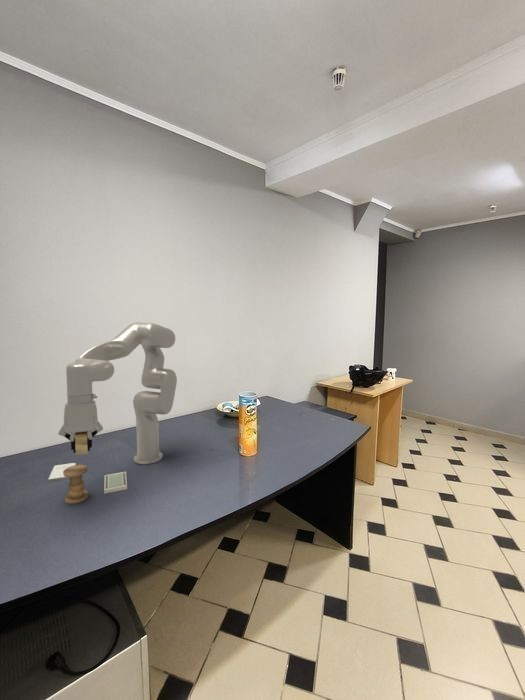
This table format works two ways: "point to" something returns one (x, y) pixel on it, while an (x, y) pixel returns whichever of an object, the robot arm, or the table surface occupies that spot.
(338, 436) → the table surface
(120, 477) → the board
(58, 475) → the external hard drive
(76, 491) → the bobbin
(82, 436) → the wooden block
